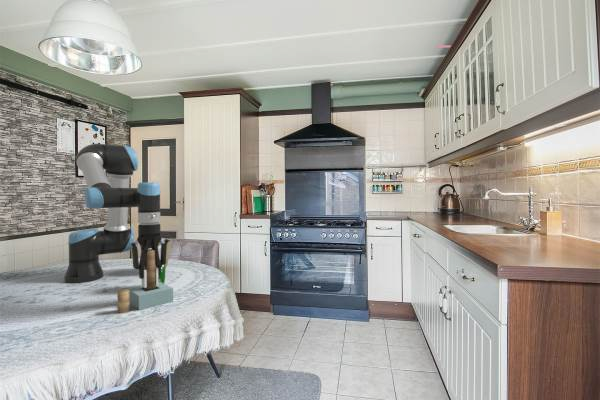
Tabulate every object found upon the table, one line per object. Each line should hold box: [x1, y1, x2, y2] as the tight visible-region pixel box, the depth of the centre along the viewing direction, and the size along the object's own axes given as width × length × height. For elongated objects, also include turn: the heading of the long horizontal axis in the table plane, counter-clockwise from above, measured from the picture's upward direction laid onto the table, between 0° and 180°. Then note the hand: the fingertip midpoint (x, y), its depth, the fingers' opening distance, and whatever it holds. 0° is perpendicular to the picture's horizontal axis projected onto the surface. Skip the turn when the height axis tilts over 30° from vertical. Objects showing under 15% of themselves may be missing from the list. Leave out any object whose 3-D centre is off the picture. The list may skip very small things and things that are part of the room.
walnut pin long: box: [145, 249, 156, 292], centre depth 115 cm, size 4×4×16 cm
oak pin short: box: [116, 288, 131, 314], centre depth 106 cm, size 4×4×7 cm
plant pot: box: [139, 239, 173, 271], centre depth 157 cm, size 15×15×16 cm
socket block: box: [127, 282, 174, 311], centre depth 116 cm, size 12×12×5 cm
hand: (150, 285), depth 115 cm, fingers closed on walnut pin long, 3 cm apart
